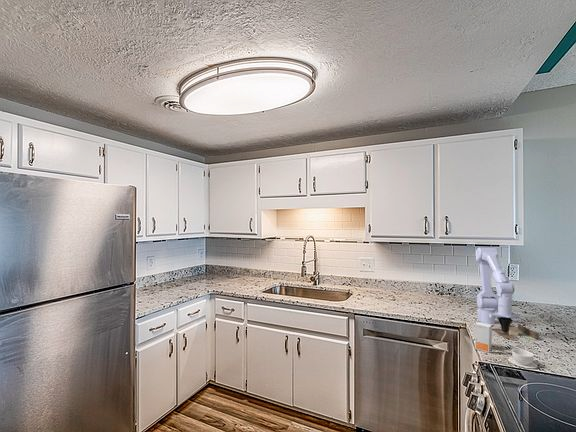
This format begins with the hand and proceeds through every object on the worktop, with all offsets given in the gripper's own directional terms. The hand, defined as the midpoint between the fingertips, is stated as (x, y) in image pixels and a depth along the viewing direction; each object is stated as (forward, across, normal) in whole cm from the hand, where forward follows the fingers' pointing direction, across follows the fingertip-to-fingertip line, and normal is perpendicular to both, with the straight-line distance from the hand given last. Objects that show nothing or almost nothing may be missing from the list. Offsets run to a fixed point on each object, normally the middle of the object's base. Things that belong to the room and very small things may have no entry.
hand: (504, 331), depth 160 cm
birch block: (+1, +3, 0) cm, 4 cm away
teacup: (+3, -11, -30) cm, 32 cm away
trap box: (+2, +4, 0) cm, 5 cm away
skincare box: (+3, -20, -18) cm, 27 cm away
